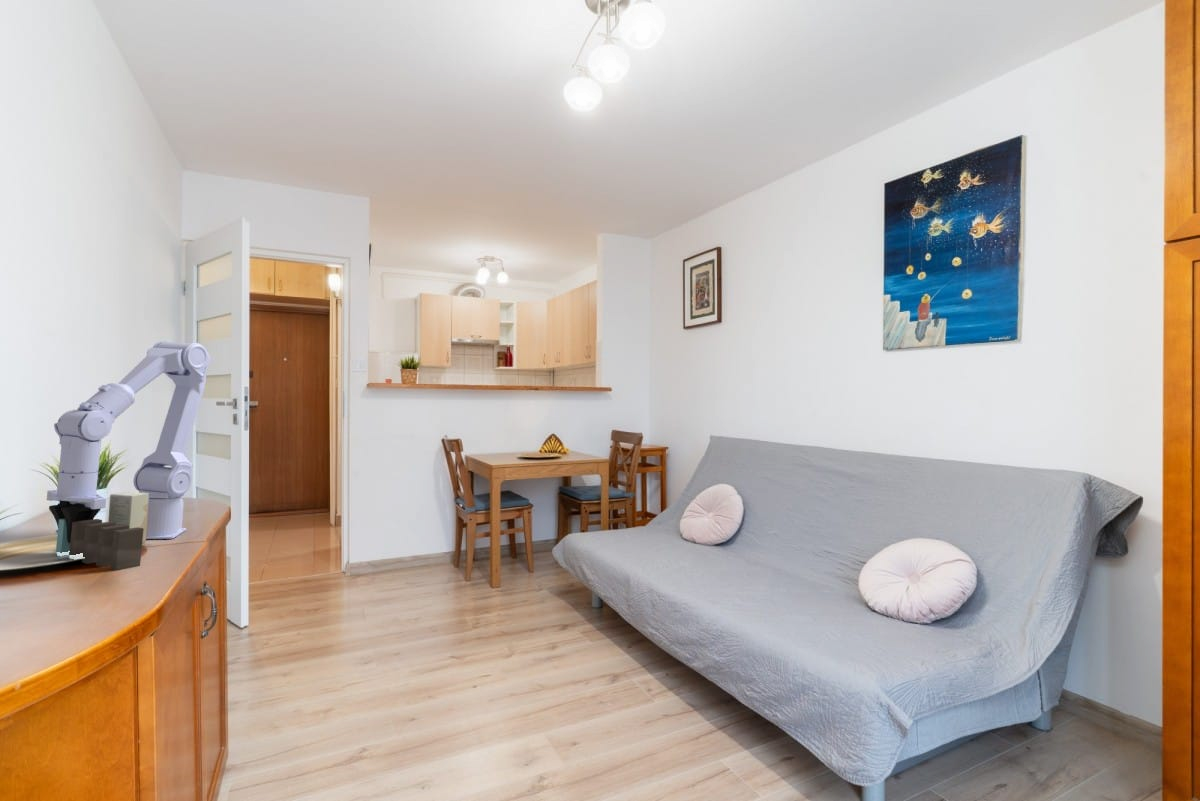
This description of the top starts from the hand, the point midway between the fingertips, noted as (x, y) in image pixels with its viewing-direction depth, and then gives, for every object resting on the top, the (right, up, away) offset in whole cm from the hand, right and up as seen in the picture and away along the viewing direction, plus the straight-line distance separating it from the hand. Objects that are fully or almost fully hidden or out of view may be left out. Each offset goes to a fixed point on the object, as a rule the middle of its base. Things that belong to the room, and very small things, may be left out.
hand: (71, 541), depth 111 cm
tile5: (+15, -4, -5) cm, 16 cm away
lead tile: (0, -3, 0) cm, 2 cm away
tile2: (+4, -3, -1) cm, 5 cm away
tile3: (+7, -3, -3) cm, 8 cm away
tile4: (+11, -3, -4) cm, 12 cm away
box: (+4, -3, +8) cm, 9 cm away
